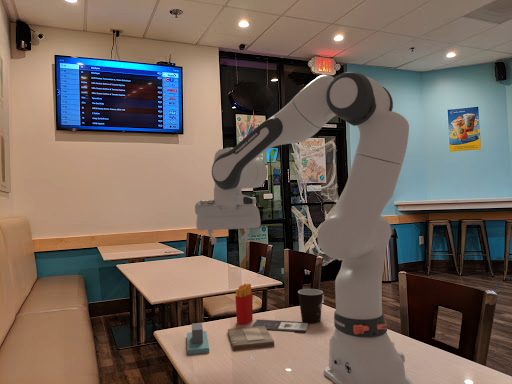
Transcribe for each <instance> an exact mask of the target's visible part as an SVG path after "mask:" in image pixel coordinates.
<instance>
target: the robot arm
mask: <svg viewBox="0 0 512 384" xmlns="http://www.w3.org/2000/svg"><path fill="white" fill-rule="evenodd" d="M393 109H394V101H393V97H392V95H391V93H390V91H388V89H387V88H386V87H385V86H382V85H381V84H379V82H377V81H376V80H375V79H373V78H371V77H368V76H366V75H365V74H362V73H360V72H355V71H346V72H342V73H340V74H338V75H337V76H335V77H333V76H331V75H328V74H322V75H319V76H317V77H316V78H315V79H313V80H312V81H310V82H309V83H308V84H306V85H305V87H303V88H302V89H301V90H300V91H299V92H298V93H297V94H296V95H295V96H293V98H291V100H290V101H289V102H287V104H286V105H285V106H284V107H282V108H281V109H280V110H278V112H276V113H275V114H274V115H272V116H271V117H269V118H268V119H266V120H264V121H263V122H261V123H260V124H259V125H257V127H255V128H254V129H253V130H252V131H251V132H250V133H248V134H247V135H246V136H245V137H244V138H243V139H241V141H240V142H239V143H237V144H236V145H235V146H234V147H225V148H221V149H218V150H217V151H216V152H215V154H214V157H213V163H212V166H211V176H212V179H213V181H214V188H213V199H212V200H211V199H209V200H199V201H198V202H196V203H195V205H194V212H195V215H196V229H197V230H198V231H207V234H208V236H209V237H210V239H211V245H217V243H218V241H217V238H215V237H214V236H213V235H212V234H213V233H214V232H213V231H215V230H216V231H217V230H241V229H243V230H244V232H245V233H244V234H243V236H241V237H240V242H241V243H240V244H247V238H248V236H249V234H250V229H259V228H260V226H261V222H262V221H261V216H260V215H261V213H260V210H259V208H258V206H257V205H256V204H257V198H255V197H252V196H249V195H247V194H243V193H242V191H243V190H244V189H256V188H260V187H261V186H263V185H264V184H265V182H266V180H267V177H268V169H267V165H266V163H265V162H264V161H263V160H262V159H260V158H258V157H260V156H261V155H262V154H264V152H266V151H267V150H269V149H272V148H275V147H278V146H281V145H288V144H290V145H291V144H298V143H303V142H306V141H307V140H308V139H310V138H312V137H313V136H315V135H316V134H317V133H318V132H319V131H320V130H322V128H323V127H324V126H326V124H328V122H329V121H330V120H331V119H333V118H334V117H338V118H340V119H341V120H342V121H344V122H346V123H348V124H350V125H351V126H354V127H357V128H358V130H359V140H358V144H357V147H356V150H355V154H354V157H353V161H352V165H351V167H350V171H349V175H348V177H347V181H346V183H345V186H344V188H343V190H342V192H341V194H340V196H339V198H338V200H337V202H336V204H335V206H334V207H333V209H332V210H331V212H330V214H329V216H327V218H326V219H325V220H324V221H322V223H321V224H320V226H319V228H318V230H317V244H318V246H319V248H320V250H321V251H322V253H323V254H324V255H325V256H327V257H329V258H331V259H333V260H334V259H335V260H341V265H340V269H339V271H338V274H337V275H336V278H335V282H334V286H335V287H334V288H335V289H334V292H335V310H334V314H333V322H334V324H333V325H334V326H333V327H335V330H334V332H333V333H332V335H331V336H330V338H329V346H328V347H329V350H328V365H327V366H326V367H324V368H323V375H324V376H326V377H327V378H328V379H330V380H331V381H332V382H333V383H335V384H414V383H413V382H412V381H411V379H410V378H409V377H408V376H407V375H406V371H405V369H406V368H405V362H406V358H405V354H404V353H403V352H398V350H397V348H396V347H395V343H394V341H392V340H391V338H390V336H389V335H388V333H387V332H388V327H387V326H388V323H387V321H386V319H385V315H384V313H383V304H382V303H383V299H382V297H383V296H382V290H383V289H382V287H383V286H382V283H383V281H382V279H383V273H384V266H385V260H386V253H387V249H388V244H389V242H390V240H391V237H392V228H391V224H390V223H389V221H388V220H387V219H386V218H385V216H383V215H381V214H382V212H383V211H384V209H385V207H386V205H387V204H388V203H389V201H390V200H391V199H392V197H393V196H394V193H395V190H396V186H397V183H398V180H399V177H400V174H401V170H402V168H403V167H402V166H403V163H404V160H405V157H406V152H407V148H408V141H409V136H410V135H409V134H410V124H409V121H408V119H406V117H404V115H401V114H400V113H398V112H396V111H393ZM242 189H243V190H242Z"/></svg>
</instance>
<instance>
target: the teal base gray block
mask: <svg viewBox="0 0 512 384" xmlns="http://www.w3.org/2000/svg"><path fill="white" fill-rule="evenodd" d="M203 328H204V327H203V322H197V323H191V332H186V342H187V343H186V347H187V349H186V350H187V355H197V354H198V355H199V354H209V353H210V346H209V340H208V339H209V338H208V333H207V331H206V330H204V329H203ZM203 330H204V331H203Z"/></svg>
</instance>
